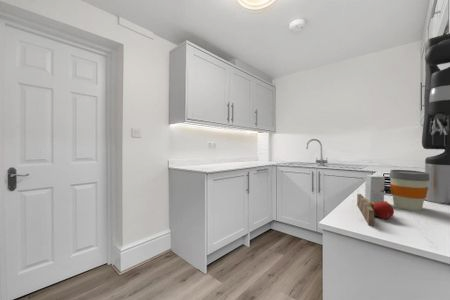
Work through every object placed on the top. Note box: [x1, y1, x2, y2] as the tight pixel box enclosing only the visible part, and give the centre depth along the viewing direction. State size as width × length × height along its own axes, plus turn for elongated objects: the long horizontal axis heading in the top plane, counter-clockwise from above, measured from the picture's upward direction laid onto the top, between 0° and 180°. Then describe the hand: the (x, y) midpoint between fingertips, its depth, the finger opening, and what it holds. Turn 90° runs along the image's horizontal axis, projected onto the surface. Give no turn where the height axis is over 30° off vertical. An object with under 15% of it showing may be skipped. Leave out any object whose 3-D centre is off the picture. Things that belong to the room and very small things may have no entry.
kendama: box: [365, 199, 395, 220], centre depth 80 cm, size 8×6×18 cm
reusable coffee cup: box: [389, 169, 429, 211], centre depth 87 cm, size 12×13×15 cm
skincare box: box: [364, 174, 386, 204], centre depth 94 cm, size 6×4×12 cm
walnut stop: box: [356, 193, 375, 227], centre depth 78 cm, size 24×1×5 cm, turn 155°
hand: (442, 145), depth 74 cm, fingers open, 8 cm apart
